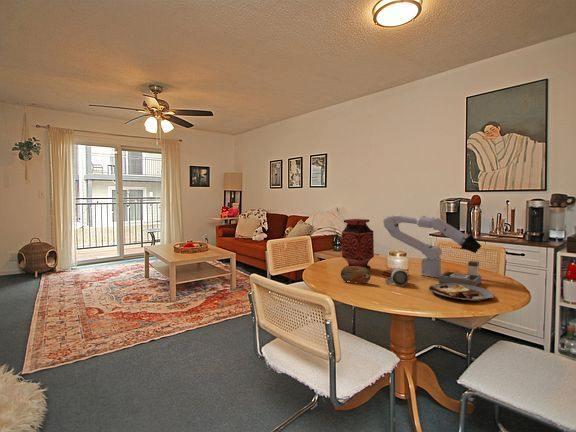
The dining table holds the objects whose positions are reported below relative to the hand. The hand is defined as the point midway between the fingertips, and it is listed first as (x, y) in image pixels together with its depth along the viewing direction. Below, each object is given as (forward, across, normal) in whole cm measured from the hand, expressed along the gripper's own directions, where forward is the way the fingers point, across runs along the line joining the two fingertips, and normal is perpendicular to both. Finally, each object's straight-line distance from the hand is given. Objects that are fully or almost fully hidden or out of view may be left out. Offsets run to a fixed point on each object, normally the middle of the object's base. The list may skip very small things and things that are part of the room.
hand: (478, 249), depth 161 cm
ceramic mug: (-18, -8, +41) cm, 45 cm away
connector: (+7, +10, +11) cm, 17 cm away
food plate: (+5, -18, +29) cm, 34 cm away
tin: (-34, -11, +53) cm, 64 cm away
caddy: (+3, +1, +19) cm, 20 cm away
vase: (-43, +17, +45) cm, 65 cm away
